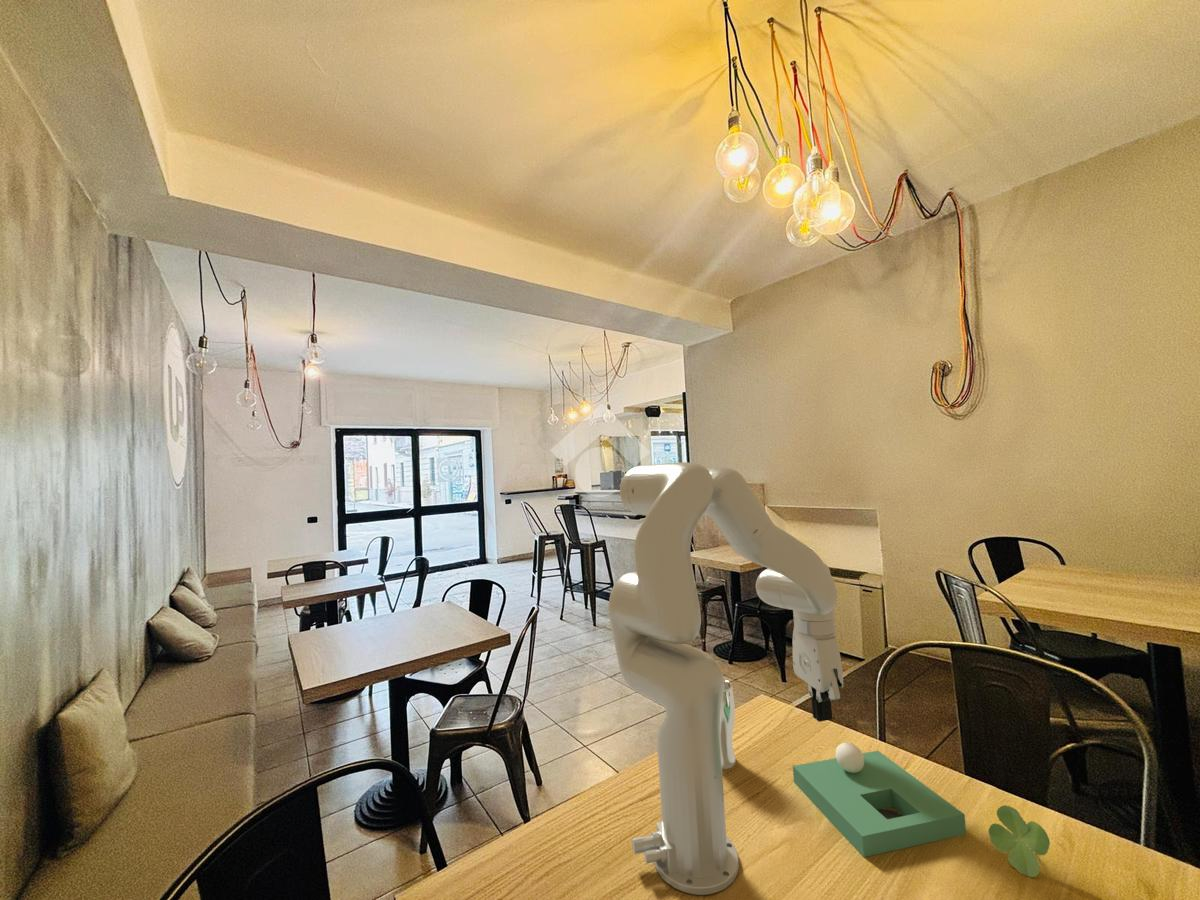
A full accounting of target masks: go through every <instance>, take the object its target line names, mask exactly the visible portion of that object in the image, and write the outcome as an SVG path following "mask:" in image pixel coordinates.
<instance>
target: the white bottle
mask: <svg viewBox="0 0 1200 900" xmlns="http://www.w3.org/2000/svg"><path fill="white" fill-rule="evenodd" d="M733 692H734V691H733V684H732V682H730V681H729V680H727V679H725V678H723V696H722V703H721V711H720V747H721V761H722V770H729V769H732V768H733V767H734V766H735V765H736V755H735V751H734V747H733V745H734V743H733V736H734V727H735V726H734V725H735V718H736V717H735V715H736V713H735V712H736V711H735V699H734V698H735V697H734V693H733Z"/></svg>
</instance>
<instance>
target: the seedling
mask: <svg viewBox="0 0 1200 900" xmlns="http://www.w3.org/2000/svg"><path fill="white" fill-rule="evenodd" d="M996 816H997V818H998V820H999V821H1000V822H1001V824H1002V825H1001V824H998V823H992V824H991V825H990V826H989V827H988V835H989V839H990V842H991V844H992V845H993V846H994V847H995V849H996V850H998V851H999V852H1001V853H1008V852H1009V854H1008V857H1007V861H1008V864H1010V865H1011V867H1013V868H1015V869H1016V871H1017V872H1018V873H1020V874H1021V875H1024V876H1027V877H1030V878H1035V877H1038V875H1039V873H1040V872H1041V866H1040V862H1039V860H1038V857H1037V855H1038V856H1045V855H1047V853H1048V851H1049V849H1050V844H1051V841H1050V837H1049V836H1048V834H1047V831H1046V830H1045V829H1044V828H1043V827H1042V826H1041V825H1040V823H1037V822H1036V821H1033V820H1031V821H1028V823H1026V820H1024V819H1023V817H1022V816H1021V814H1020V813H1019V811H1018V810H1017V809H1016V808H1014V807H1012V806H1009V805H1005V804H1004V805H1001V806H1000V807H998V808H997V810H996Z"/></svg>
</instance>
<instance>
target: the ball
mask: <svg viewBox="0 0 1200 900" xmlns="http://www.w3.org/2000/svg"><path fill="white" fill-rule="evenodd" d="M835 750H836V751H835V758H836V759H837V762H838V763H839V765H840V766H841V767H842V768H843V769H844V770H846V771H848V772H851V773H856V772H859V771H860V770H861V769H862V768H863V766H864V756H863V754H862V753H863V752H862V750H861V749H860V748H859V747H858V746H857V745H855V744H853V743H852V742H843V743H841V744H839V745H838V746H837V747H836V749H835Z"/></svg>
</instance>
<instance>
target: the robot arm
mask: <svg viewBox="0 0 1200 900" xmlns="http://www.w3.org/2000/svg"><path fill="white" fill-rule="evenodd" d="M619 495H620V499H621V501H622V503H623V505H624V507H625V508H626V509H628V511H630V512H631V513H633V514H636V515H637V516H645V517H644V518H643V520H642V523H641V525H640V527H639V529H638V531H637V534H636V537H635V540H634V546H633V549H634V550H633V553H634V563H635V570H636V571H631V572H630V571H629V572H627V573H624V574H623V575H621V576H620V577H619V578H618V579H617V580H616V582H615V583H614V584H613V586H612V589H611V592H610V593H609V599H608V600H609V601H608V616H609V622H610V626H611V627H610V629H611V633H612V637H613V643H614V648H615V653H616V657H617V662H618V667H619V670H620V673H621V677H622V678H623V680H624V681H625V684H626V685H627V686H628V687H629V688H630V689H632V690H633V691H635V692H636V693H638V694H640V695H642V696H643V697H646V698H647V699H650V700H651V701H654V702H655V703H656V704H659V705H661V706H662V707H663V708H664V709H665V717H664V719H663V721H662V722H661V725H660V726H659V729H658V731H657V740H656V741H657V743H656V746H657V748H656V750H657V762H658V777H659V797H660V798H659V799H660V811H661V813H660V814H661V821H659V822H657V821H656V831H651V833H650V835H646V836H638V837H634V838H631V847H632V852H633V853H632V854H634V855H640V854H643V856H644V861H645V864H652V863H654V867H655V870H656V871H657V872H658V874H659V876H660V877H661V878H662V879H663V880H664V882H666V883H667V884H668V885H669V886H671V887H672V888H674V889H676V890H678V891H680V892H683V893H687V894H690V895H696V896H697V895H699V896H700V895H701V896H703V895H712V894H716V893H719V892H720V891H724V890H725V889H726V888H728V887H729V886H730V885H731V884H732V883H733V882H734V881H735V879H736V878H737V875H738V872H739V870H740V869H739V868H740V867H739V866H740V864H739V863H740V862H739V856H738V855H739V854H738V851H737V848H736V846H735V845H734V843H733V842H732V840H731V839H730V838H729V837H728V836H727V830H726V828H727V827H726V813H725V811H726V809H725V798H724V797H725V796H724V794H725V793H724V781H723V769H722V761H721V747H720V711H721V703H722V696H723V679H724V675H723V672H722V669H721V667H720V665H719V664H718V662H717V661H716V660H715V659H714V658H713V657H712V656H711V655H710V654H708V653H706V652H705V651H704V650H701V649H699V648H697V647H694V646H690V645H689V644H688V643H690V642H693V640H695V639H696V637H697V636H698V634H699V633H700V629H701V626H702V625H701V624H702V614H701V606H700V600H699V595H698V590H697V584H696V580H695V578H696V577H695V572H694V569H693V567H694V566H693V562H692V556H691V555H692V551H691V545H692V544H691V543H692V538H693V536H694V533H695V529H696V527H697V525H698V523H699V522H700V520H701V519H702V517H703V516H704V517H708V518H710V520H711V521H712V522H713V523H714V525H715V526H716V527H717V528H718V530H719V531H720V532H721V534H722V536H723V537H724V538H725V539H726V541H727V542H728V544H729V545H730V547H731V548H732V550H733V551H734V552H735V553H736V554H737V555H738V556H740V557H741V558H744V559H746V560H747V561H750V562H752V563H754V564H756V565H759V566H761V567H764V568H766V569H764V570H763V571H761V572H760V573H759V575H758V576H757V579H756V580H755V591H756V594H757V596H758V598H759V599H760V600H761V601H762V602H763V603H765V604H767V605H770V606H771V607H772V606H773V607H777V608H779V609H785V610H790V611H791V610H792V613H793V615H792V616H793V631H792V645H791V646H792V667H793V672H794V674H795V675H796V676H797V677H798V678H799V679H801V680H802V681H804V682H805V683H806V685H807V687H808V688H807V689H808V694H809V696H810V697H811V698H810V699H811V712H812V718H814V719H815V720H816V721H817V722H819V723H821V722H825V721H831V720H833V709H832V701H833V700H834V701H835V700H840V699H841V694H840V690H842V689H843V688H844V672H843V666H842V665H843V664H842V660H841V654H840V653H841V652H840V648H839V643H838V639H837V633H836V632H837V631H836V629H837V628H836V621H835V610H834V609H835V606H836V604H837V601H838V600H837V599H838V592H837V591H838V590H837V586H836V583H835V580H834V578H833V576H832V574H831V570H830V567H829V566H828V565H827V564H826V563H825V562H824V561H823V560H822V559H821V557H820V556H819V554H817V553H816V552H815V551H814V550H813V549H812V548H811V547H809V546H808V545H806V544H805V543H803V542H802V541H801V540H799V539H797V538H796V537H794V536H793V535H792V534H790V533H789V532H787V531H786V530H784V529H782V528H780V527H778V526H777V525H775V523H774V522H773V521H772V519H771V517H770V516H769V514H768V513H767V511H766V509H765V508H764V506H763V505H762V504H761V502H760V501H759V499H758V498H757V496H756V494H755V493H754V492H753V490H752V488H751V486H750V485H749V484H748V482H747V480H746V479H745V478H744V476H743V475H742V474H741V473H740V472H739V471H737V470H735V469H733V468H729V467H705V466H704V465H701V464H699V463H694V462H689V461H688V462H685V461H682V462H681V461H680V462H667V463H658V464H657V463H656V464H644V465H643V464H641V465H637V466H634V467H632V468H630V469H629V470H627V471H626V473H625V474H624V475H623V477H622V479H621V482H620V485H619Z"/></svg>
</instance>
